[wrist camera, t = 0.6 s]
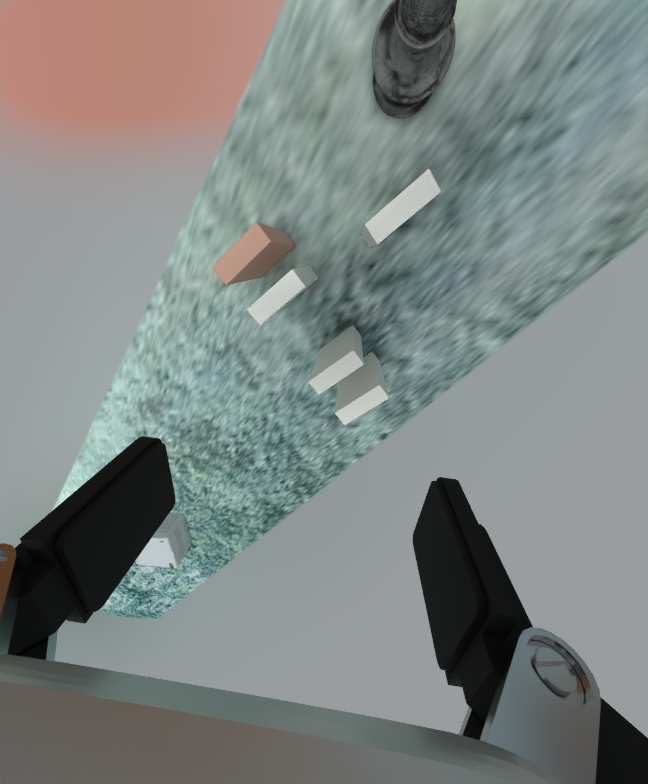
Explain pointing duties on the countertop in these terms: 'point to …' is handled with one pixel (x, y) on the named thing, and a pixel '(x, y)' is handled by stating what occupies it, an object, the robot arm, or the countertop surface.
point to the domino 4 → (400, 209)
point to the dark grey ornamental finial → (412, 53)
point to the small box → (167, 543)
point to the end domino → (253, 254)
